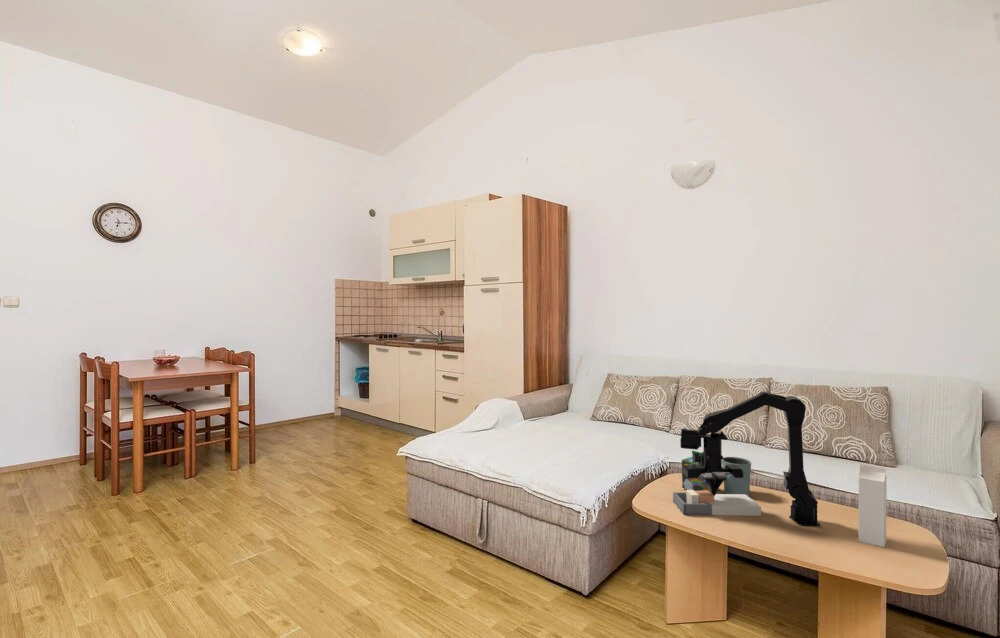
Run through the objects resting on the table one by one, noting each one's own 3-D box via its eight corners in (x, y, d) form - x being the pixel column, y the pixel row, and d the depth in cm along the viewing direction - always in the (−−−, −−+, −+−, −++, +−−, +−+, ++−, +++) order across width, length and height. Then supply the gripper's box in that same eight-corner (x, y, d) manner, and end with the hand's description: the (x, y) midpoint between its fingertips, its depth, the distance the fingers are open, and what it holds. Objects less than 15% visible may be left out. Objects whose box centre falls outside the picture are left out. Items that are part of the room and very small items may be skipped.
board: (745, 502, 172) (745, 494, 172) (761, 515, 161) (761, 506, 161) (699, 502, 172) (699, 493, 172) (712, 515, 161) (712, 506, 161)
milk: (861, 534, 147) (861, 461, 147) (886, 540, 143) (886, 466, 143) (858, 541, 142) (858, 466, 142) (884, 548, 138) (884, 470, 138)
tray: (699, 502, 172) (699, 492, 172) (711, 515, 161) (711, 504, 161) (673, 502, 173) (673, 492, 173) (683, 514, 162) (683, 504, 162)
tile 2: (707, 497, 169) (707, 490, 169) (714, 502, 164) (714, 495, 164) (693, 497, 169) (693, 490, 169) (699, 503, 164) (699, 496, 164)
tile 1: (692, 489, 169) (686, 490, 169) (698, 494, 164) (691, 495, 164) (693, 503, 169) (686, 504, 169) (699, 509, 164) (692, 510, 164)
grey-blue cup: (741, 499, 175) (741, 466, 175) (715, 490, 184) (715, 459, 184) (756, 493, 181) (756, 461, 181) (731, 485, 189) (731, 454, 189)
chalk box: (717, 491, 183) (717, 452, 183) (702, 496, 178) (702, 456, 178) (695, 484, 191) (695, 446, 191) (681, 488, 186) (681, 450, 186)
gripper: (729, 444, 174) (730, 487, 175) (677, 444, 175) (677, 487, 175) (744, 453, 163) (744, 499, 163) (688, 453, 164) (688, 499, 164)
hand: (712, 496), depth 167 cm, fingers closed
